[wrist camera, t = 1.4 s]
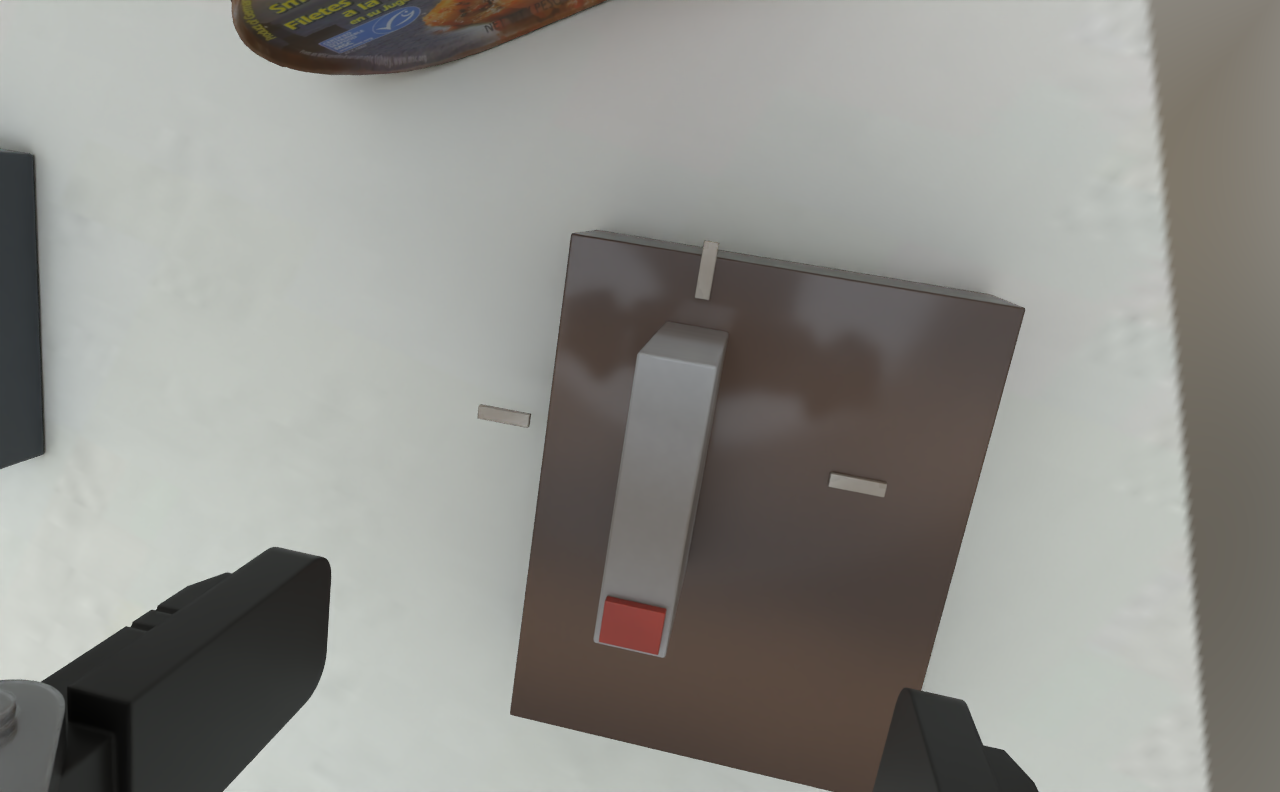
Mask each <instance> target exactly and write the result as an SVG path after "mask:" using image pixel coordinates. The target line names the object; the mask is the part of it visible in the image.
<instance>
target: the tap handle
mask: <svg viewBox="0 0 1280 792" xmlns="http://www.w3.org/2000/svg"><path fill="white" fill-rule="evenodd" d="M727 340H728V333H727V332H724V331H719V330H713V329H707V328H702V327H696V326H690V325H685V324H679V323H673V322H666V323H665V324H664V325H663V326H662V327H661V328H660V329H659V330H658V332H657V333H656V334H655V335H654V336H653V337H652V338H651V339H650V340H649V342H648V343H647V344H646V345H645V346H644V347H643V348H642V349H641V350H640V352H639V353H638V354H637V360H636V366H635V373H634V379H633V386H632V392H631V399H630V405H629V412H628V418H627V425H626V431H625V438H624V444H623V451H622V457H621V464H620V470H619V477H618V483H617V490H616V496H615V503H614V509H613V516H612V522H611V529H610V535H609V542H608V548H607V555H606V561H605V568H604V574H603V581H602V587H601V594H600V600H599V607H598V613H597V620H596V626H595V633H594V642H595V643H599V644H604V645H608V646H613V647H617V648H622V649H626V650H630V651H635V652H639V653H644V654H648V655H653V656H657V657H662V658H664V657H665V656H666V652H667V648H668V644H669V639H670V635H671V631H672V626H673V622H674V618H675V614H676V609H677V605H678V601H679V596H680V592H681V588H682V584H683V579H684V575H685V571H686V566H687V561H688V555H689V550H690V544H691V539H692V533H693V528H694V522H695V517H696V511H697V506H698V500H699V495H700V489H701V484H702V478H703V473H704V467H705V462H706V456H707V451H708V445H709V440H710V434H711V429H712V423H713V418H714V412H715V407H716V401H717V395H718V390H719V384H720V379H721V373H722V368H723V362H724V357H725V351H726V346H727Z"/></svg>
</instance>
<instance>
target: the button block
mask: <svg viewBox="0 0 1280 792" xmlns="http://www.w3.org/2000/svg"><path fill="white" fill-rule="evenodd" d="M43 454H44V441H43V414H42V386H41V359H40V332H39V304H38V277H37V249H36V222H35V194H34V167H33V155H32V154H30V153H24V152H18V151H12V150H6V149H0V469H2V468H5V467H8V466H11V465H14V464H17V463H20V462H23V461H25V460H28V459H31V458H34V457H37V456H40V455H43Z"/></svg>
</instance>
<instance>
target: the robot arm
mask: <svg viewBox="0 0 1280 792" xmlns="http://www.w3.org/2000/svg"><path fill="white" fill-rule="evenodd" d="M330 587H331V567H330V564H329V562H328V560H327V559H326V558H324V557H320V556H315V555H311V554H306V553H302V552H297V551H293V550H288V549H283V548H279V547H272V548H269V549H268V550H266V551H264V552H263V553H262V554H260V555H259V556H257V557H256V558H254V559H253V560H251V561H250V562H248V563H247V564H245V565H244V566H243V567H241V568H240V569H238V570H237V571H235V572H234V573H232V574H231V573H224V574H221V575H218V576H215V577H213V578H210V579H207V580H204V581H201V582H198V583H195V584H192V585H190V586H187V587H186V588H184V589H183V590H181V591H179V592H178V593H176V594H175V595H173V596H172V597H170V598H169V599H167V600H166V601H164V602H163V603H161V604H160V605H158V607H157V609H156V611H155V610H150V611H149V612H147V613H146V614H144V615H143V616H141V617H140V618H138V619H137V620H135V621H134V622H133V623H132V626H131V627H127V626H126V627H124V628H123V629H121V630H120V631H118V632H117V633H115V634H114V635H112V636H111V637H109V638H108V639H106V640H104V641H103V642H101V643H100V644H98V645H97V646H95V647H94V648H92V649H91V650H89V651H88V652H86V653H85V654H83V655H81V656H80V657H78V658H77V659H75V660H74V661H72V662H71V663H69V664H68V665H66V666H65V667H63V668H62V669H60V670H59V671H57V672H55V673H54V674H52V675H51V676H49V677H48V678H46V679H45V680H43V681H42V682H37V681H31V680H0V792H223V791H224V790H225V789H226V788H227V787H228V785H229V784H230V783H231V782H232V781H233V780H234V779H235V778H236V777H237V776H238V775H239V774H240V773H241V772H242V770H243V769H244V768H245V767H246V766H247V765H248V764H249V763H250V762H251V761H252V760H253V759H254V758H255V757H256V755H257V754H258V753H259V752H260V751H261V750H262V749H263V748H264V747H265V746H266V745H267V744H268V743H269V742H270V740H271V739H272V738H273V737H274V736H275V735H276V734H277V733H278V732H279V731H280V730H281V729H282V728H283V727H284V725H285V724H286V723H287V722H288V721H289V720H290V719H291V718H292V717H293V716H294V715H295V714H296V713H297V712H298V711H299V709H300V708H301V707H302V706H303V705H304V704H305V703H306V702H307V701H308V699H309V698H310V697H311V695H312V694H313V692H314V690H315V689H316V687H317V685H318V683H319V680H320V678H321V675H322V672H323V669H324V665H325V660H326V653H327V637H328V621H329V604H330ZM873 792H1038V790H1037V787H1036V785H1035V783H1034V782H1033V781H1032V780H1031V779H1030V778H1029V776H1028V775H1027V774H1026V773H1025V772H1024V771H1023V770H1022V769H1021V768H1020V767H1019V766H1018V765H1017V764H1016V763H1015V761H1014V760H1013V759H1012V758H1011V757H1010V756H1009V755H1008V754H1007V753H1006V752H1005V751H1004V750H1001V749H997V748H992V747H988V746H983V744H982V742H981V739H980V736H979V734H978V731H977V729H976V726H975V724H974V721H973V719H972V716H971V714H970V711H969V709H968V706H967V704H966V703H965V702H964V701H963V700H960V699H956V698H951V697H947V696H942V695H938V694H933V693H929V692H924V691H920V690H915V689H911V688H903V689H902V691H901V692H900V694H899V696H898V699H897V702H896V705H895V709H894V712H893V716H892V720H891V724H890V727H889V731H888V735H887V739H886V742H885V746H884V750H883V754H882V757H881V761H880V765H879V769H878V773H877V776H876V780H875V784H874V788H873Z"/></svg>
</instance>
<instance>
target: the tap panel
mask: <svg viewBox="0 0 1280 792" xmlns="http://www.w3.org/2000/svg"><path fill="white" fill-rule="evenodd" d="M718 247H719V243H718V242H712V241H706V240H705V241H704V245H703V247H698V246H692V245H686V244H680V243H674V242H667V241H661V240H655V239H649V238H643V237H637V236H631V235H625V234H619V233H613V232H606V231H600V230H594V231H586V232H579V233H572V234H571V240H570V248H569V256H568V264H567V272H566V279H565V287H564V295H563V303H562V311H561V319H560V326H559V334H558V342H557V350H556V358H555V366H554V373H553V381H552V389H551V397H550V405H549V412H548V420H547V428H546V436H545V444H544V452H543V459H542V467H541V475H540V483H539V491H538V499H537V506H536V514H535V522H534V530H533V538H532V546H531V553H530V561H529V569H528V577H527V585H526V592H525V600H524V608H523V616H522V624H521V632H520V639H519V647H518V655H517V663H516V671H515V679H514V686H513V694H512V702H511V710H510V714H511V715H514V716H518V717H522V718H526V719H530V720H535V721H539V722H543V723H547V724H551V725H556V726H560V727H564V728H568V729H572V730H577V731H581V732H585V733H589V734H593V735H598V736H602V737H606V738H610V739H614V740H619V741H623V742H627V743H631V744H635V745H640V746H644V747H648V748H652V749H656V750H661V751H665V752H669V753H673V754H677V755H682V756H686V757H690V758H694V759H698V760H702V761H707V762H711V763H715V764H719V765H723V766H728V767H732V768H736V769H740V770H744V771H749V772H753V773H757V774H761V775H765V776H770V777H774V778H778V779H782V780H786V781H791V782H795V783H799V784H803V785H807V786H812V787H816V788H820V789H824V790H828V791H833V792H873V788H874V784H875V780H876V776H877V773H878V769H879V765H880V761H881V757H882V754H883V750H884V746H885V742H886V739H887V735H888V731H889V727H890V724H891V720H892V716H893V712H894V709H895V705H896V702H897V699H898V696H899V694H900V692H901V691H902V689H903V688H911V689H915V690H920V691H921V689H922V686H923V682H924V678H925V675H926V671H927V667H928V664H929V660H930V656H931V653H932V649H933V645H934V642H935V638H936V634H937V631H938V627H939V623H940V620H941V616H942V612H943V609H944V605H945V601H946V598H947V594H948V590H949V587H950V583H951V579H952V576H953V572H954V569H955V565H956V561H957V558H958V554H959V550H960V547H961V543H962V539H963V536H964V532H965V528H966V525H967V521H968V517H969V514H970V510H971V506H972V503H973V499H974V495H975V492H976V488H977V484H978V481H979V477H980V473H981V470H982V466H983V462H984V459H985V455H986V451H987V448H988V444H989V440H990V437H991V433H992V429H993V426H994V422H995V419H996V415H997V411H998V408H999V404H1000V400H1001V397H1002V393H1003V389H1004V386H1005V382H1006V378H1007V375H1008V371H1009V367H1010V364H1011V360H1012V356H1013V353H1014V349H1015V345H1016V342H1017V338H1018V334H1019V331H1020V327H1021V323H1022V320H1023V316H1024V312H1025V308H1023V307H1021V306H1018V305H1016V304H1013V303H1011V302H1008V301H1006V300H1003V299H1001V298H998V297H996V296H993V295H990V294H984V293H978V292H972V291H966V290H960V289H954V288H948V287H942V286H936V285H929V284H923V283H917V282H911V281H905V280H899V279H893V278H887V277H881V276H875V275H869V274H862V273H856V272H850V271H844V270H838V269H832V268H826V267H820V266H814V265H808V264H801V263H795V262H789V261H783V260H777V259H771V258H765V257H759V256H753V255H747V254H741V253H734V252H728V251H722V250H718ZM666 322H673V323H679V324H685V325H690V326H696V327H702V328H707V329H713V330H719V331H724V332H727V333H728V340H727V346H726V351H725V357H724V362H723V368H722V373H721V379H720V384H719V390H718V395H717V401H716V407H715V412H714V418H713V423H712V429H711V434H710V440H709V445H708V451H707V456H706V462H705V467H704V473H703V478H702V484H701V489H700V495H699V500H698V506H697V511H696V517H695V522H694V528H693V533H692V539H691V544H690V550H689V555H688V561H687V566H686V571H685V575H684V579H683V584H682V588H681V592H680V596H679V601H678V605H677V609H676V614H675V618H674V622H673V626H672V631H671V635H670V639H669V644H668V648H667V652H666V656H665V657H664V658H662V657H657V656H653V655H648V654H644V653H639V652H635V651H630V650H626V649H622V648H617V647H613V646H608V645H604V644H599V643H595V642H594V633H595V626H596V620H597V613H598V607H599V600H600V594H601V587H602V581H603V574H604V568H605V561H606V555H607V548H608V542H609V535H610V529H611V522H612V516H613V509H614V503H615V496H616V490H617V483H618V477H619V470H620V464H621V457H622V451H623V444H624V438H625V431H626V425H627V418H628V412H629V405H630V399H631V392H632V386H633V379H634V373H635V366H636V360H637V354H638V353H639V352H640V350H641V349H642V348H643V347H644V346H645V345H646V344H647V343H648V342H649V340H650V339H651V338H652V337H653V336H654V335H655V334H656V333H657V332H658V330H659V329H660V328H661V327H662V326H663V325H664V324H665V323H666ZM530 417H531V414H529V413H524V412H519V411H513V410H508V409H503V408H498V407H493V406H487V405H482V404H480V405H479V408H478V418H479V419H485V420H490V421H495V422H500V423H505V424H510V425H515V426H520V427H526V428H528V427H529V425H530Z"/></svg>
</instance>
